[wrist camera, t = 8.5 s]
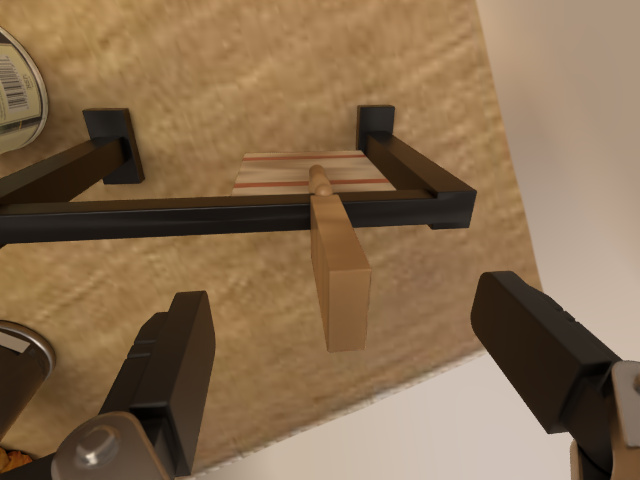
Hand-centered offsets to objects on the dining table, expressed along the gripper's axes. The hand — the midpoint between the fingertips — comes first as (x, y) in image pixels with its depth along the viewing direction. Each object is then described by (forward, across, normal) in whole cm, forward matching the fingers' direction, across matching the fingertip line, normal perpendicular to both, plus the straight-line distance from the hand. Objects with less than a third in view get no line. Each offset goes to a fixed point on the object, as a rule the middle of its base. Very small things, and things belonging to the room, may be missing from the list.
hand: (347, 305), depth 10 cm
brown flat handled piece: (+19, 0, 0) cm, 19 cm away
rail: (+24, +4, 0) cm, 24 cm away
